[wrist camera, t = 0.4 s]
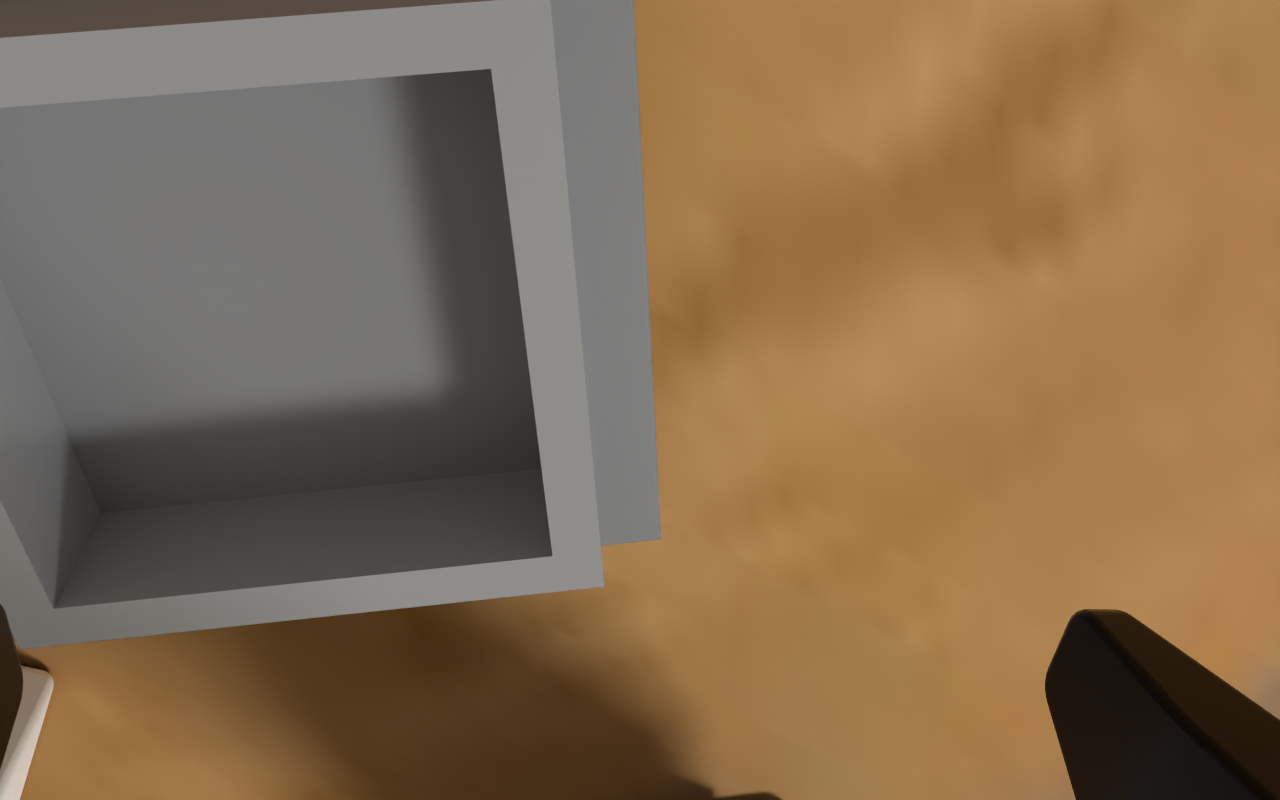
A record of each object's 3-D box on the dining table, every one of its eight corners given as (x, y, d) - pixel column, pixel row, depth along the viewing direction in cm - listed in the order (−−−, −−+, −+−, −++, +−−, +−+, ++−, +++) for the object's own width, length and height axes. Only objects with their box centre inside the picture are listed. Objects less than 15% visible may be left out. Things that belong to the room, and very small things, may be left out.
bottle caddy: (656, 513, 27) (677, 629, 24) (42, 576, 26) (-26, 706, 23) (620, -157, 19) (645, -122, 15) (-286, -95, 18) (-470, -44, 14)
